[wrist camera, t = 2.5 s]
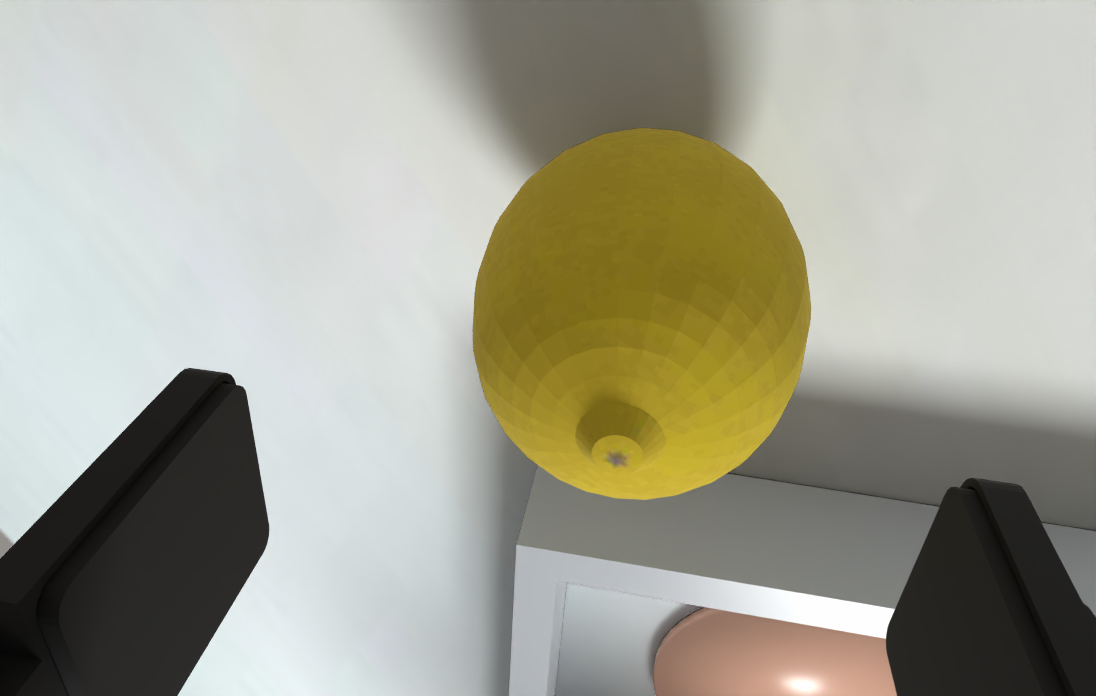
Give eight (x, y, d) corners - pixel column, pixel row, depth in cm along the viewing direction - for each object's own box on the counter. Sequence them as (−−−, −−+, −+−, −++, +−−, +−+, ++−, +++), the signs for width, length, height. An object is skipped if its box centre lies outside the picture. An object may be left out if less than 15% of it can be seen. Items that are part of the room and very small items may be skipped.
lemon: (477, 226, 18) (344, 468, 11) (629, 13, 15) (565, 175, 8) (672, 361, 19) (652, 651, 13) (849, 187, 16) (944, 448, 10)
